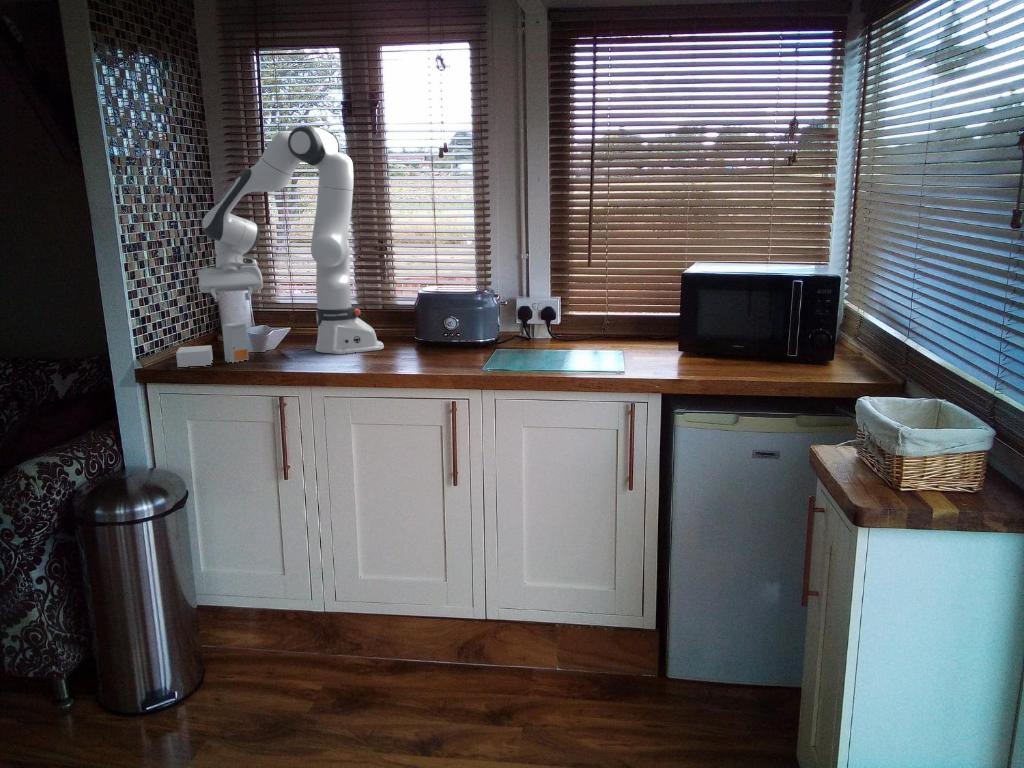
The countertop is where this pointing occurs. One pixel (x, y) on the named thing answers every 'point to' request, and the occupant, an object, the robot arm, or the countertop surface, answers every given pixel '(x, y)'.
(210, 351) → the grey block
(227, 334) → the skincare box
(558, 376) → the countertop surface
